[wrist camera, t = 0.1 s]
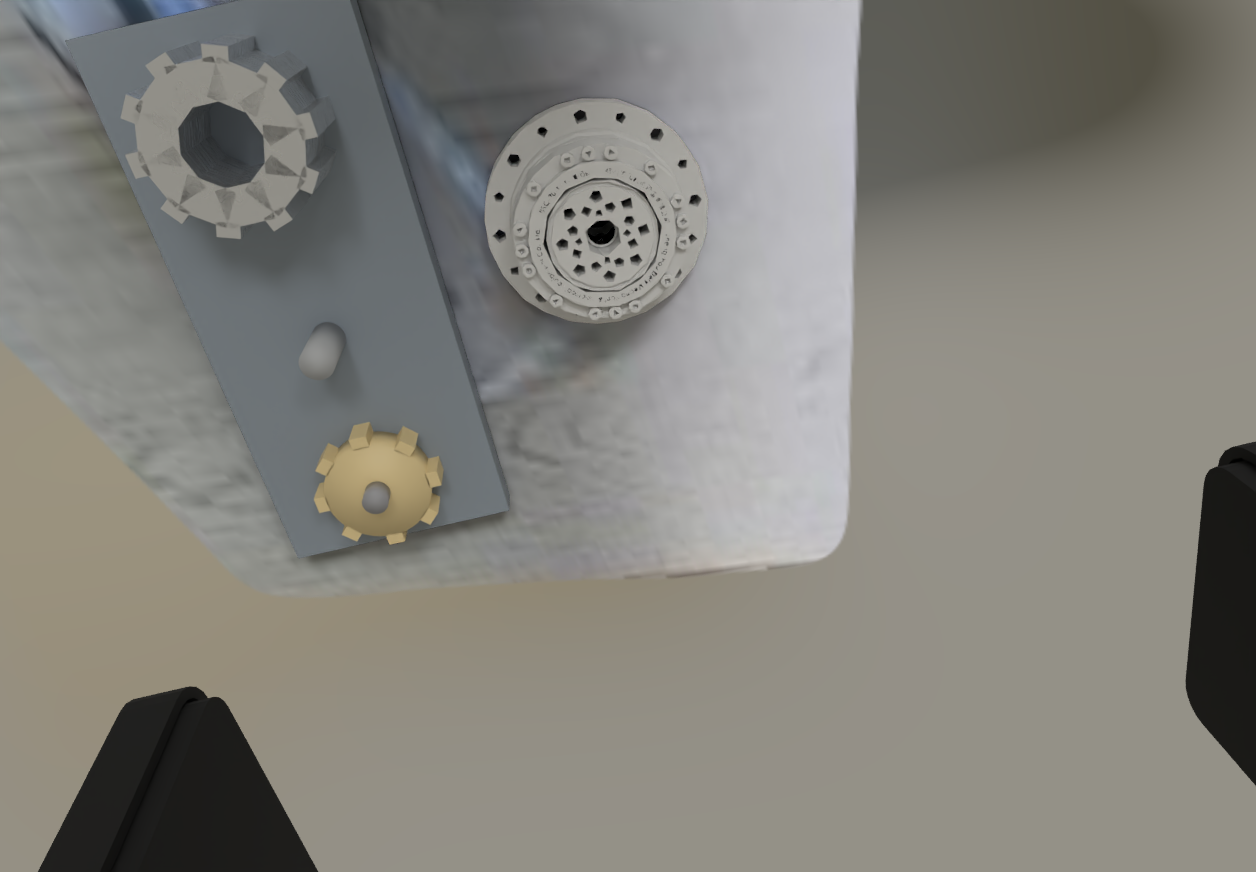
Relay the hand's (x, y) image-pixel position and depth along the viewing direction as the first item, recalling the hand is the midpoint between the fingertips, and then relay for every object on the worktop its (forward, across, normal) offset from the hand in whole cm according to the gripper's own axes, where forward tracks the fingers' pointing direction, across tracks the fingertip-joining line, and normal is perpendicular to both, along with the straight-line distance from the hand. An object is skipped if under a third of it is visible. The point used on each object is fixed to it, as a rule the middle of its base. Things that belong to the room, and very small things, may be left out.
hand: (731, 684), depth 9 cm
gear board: (+37, +13, +6) cm, 39 cm away
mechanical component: (+37, 0, +5) cm, 37 cm away
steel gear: (+35, +13, -2) cm, 37 cm away
